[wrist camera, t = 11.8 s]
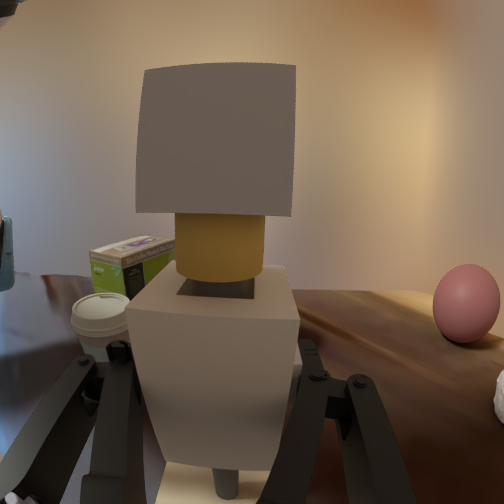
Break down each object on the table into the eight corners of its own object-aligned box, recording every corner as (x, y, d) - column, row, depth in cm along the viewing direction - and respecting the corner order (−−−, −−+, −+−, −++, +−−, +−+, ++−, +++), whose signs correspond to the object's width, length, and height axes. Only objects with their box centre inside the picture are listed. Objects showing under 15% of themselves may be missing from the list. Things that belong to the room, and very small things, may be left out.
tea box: (147, 297, 59) (142, 233, 55) (182, 307, 55) (179, 238, 52) (99, 322, 45) (87, 248, 42) (133, 339, 42) (122, 255, 38)
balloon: (506, 345, 34) (529, 276, 31) (452, 364, 33) (480, 280, 30) (468, 316, 49) (483, 256, 46) (411, 325, 48) (428, 254, 45)
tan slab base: (297, 546, 11) (299, 543, 11) (150, 533, 11) (147, 530, 11) (289, 450, 23) (290, 445, 22) (175, 442, 23) (174, 437, 22)
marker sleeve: (273, 470, 11) (299, 319, 9) (165, 460, 11) (124, 307, 9) (270, 401, 17) (283, 265, 14) (185, 395, 17) (172, 260, 14)
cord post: (255, 514, 14) (295, 65, 7) (195, 509, 14) (144, 70, 7) (255, 472, 19) (282, 105, 12) (202, 468, 19) (181, 105, 12)
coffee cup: (158, 392, 30) (143, 312, 27) (98, 408, 25) (69, 327, 22) (137, 358, 37) (125, 286, 34) (87, 370, 31) (67, 296, 28)
